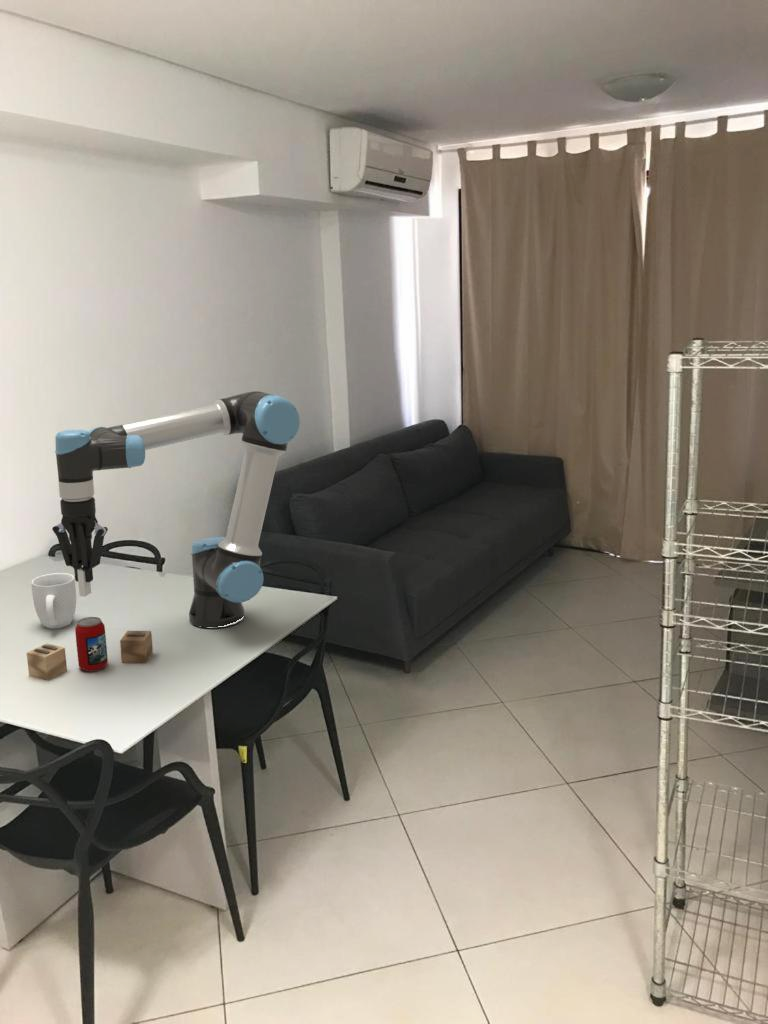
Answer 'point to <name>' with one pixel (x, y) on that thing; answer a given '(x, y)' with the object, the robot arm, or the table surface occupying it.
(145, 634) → the wooden minus sign cube
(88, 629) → the beverage can
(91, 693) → the table surface
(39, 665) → the wooden equals sign cube
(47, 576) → the mug
